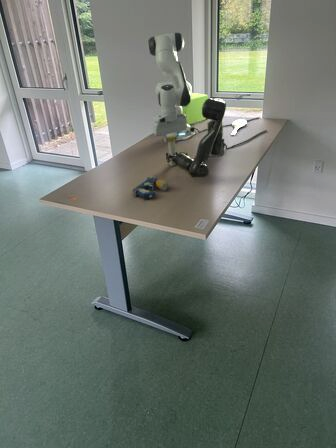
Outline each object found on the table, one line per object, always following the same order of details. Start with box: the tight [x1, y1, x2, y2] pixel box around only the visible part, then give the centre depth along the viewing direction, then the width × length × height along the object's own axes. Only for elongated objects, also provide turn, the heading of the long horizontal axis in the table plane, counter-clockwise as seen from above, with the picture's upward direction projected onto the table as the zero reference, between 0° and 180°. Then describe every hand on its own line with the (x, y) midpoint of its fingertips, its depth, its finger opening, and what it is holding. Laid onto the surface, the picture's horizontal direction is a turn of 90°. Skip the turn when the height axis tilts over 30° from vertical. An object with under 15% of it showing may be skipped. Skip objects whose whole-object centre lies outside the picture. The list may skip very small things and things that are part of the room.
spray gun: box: [131, 175, 169, 200], centre depth 172 cm, size 21×4×15 cm
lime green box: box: [181, 91, 209, 126], centre depth 283 cm, size 25×21×23 cm
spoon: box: [231, 119, 248, 136], centre depth 255 cm, size 35×11×2 cm, turn 159°
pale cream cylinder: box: [167, 141, 177, 167], centre depth 198 cm, size 4×4×17 cm
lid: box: [166, 136, 176, 143], centre depth 194 cm, size 5×5×2 cm
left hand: (171, 140), depth 195 cm, fingers open, 5 cm apart
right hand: (170, 153), depth 202 cm, fingers closed on pale cream cylinder, 4 cm apart
